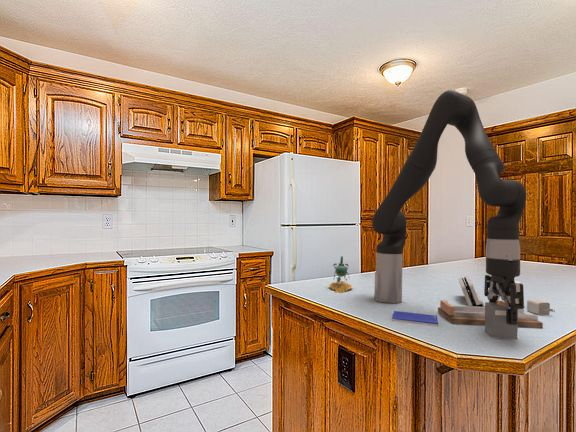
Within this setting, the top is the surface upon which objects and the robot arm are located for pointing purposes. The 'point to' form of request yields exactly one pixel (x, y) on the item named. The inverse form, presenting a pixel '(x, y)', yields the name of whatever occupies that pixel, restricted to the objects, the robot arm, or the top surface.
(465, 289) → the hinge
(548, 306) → the usb wall charger
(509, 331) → the block
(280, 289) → the top surface
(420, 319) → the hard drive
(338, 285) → the frog figurine
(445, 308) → the rail board
